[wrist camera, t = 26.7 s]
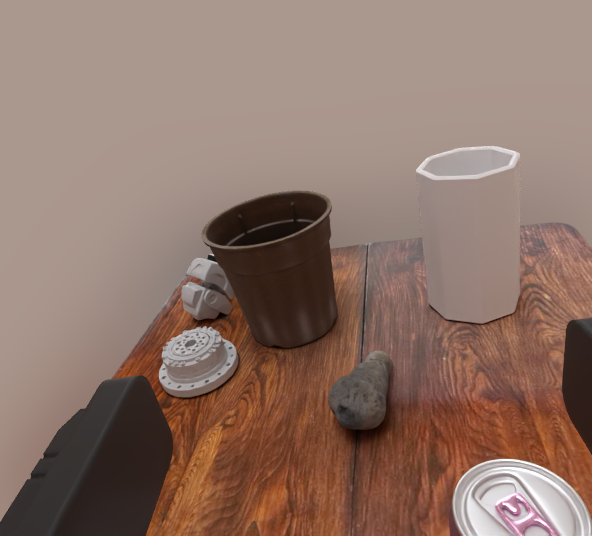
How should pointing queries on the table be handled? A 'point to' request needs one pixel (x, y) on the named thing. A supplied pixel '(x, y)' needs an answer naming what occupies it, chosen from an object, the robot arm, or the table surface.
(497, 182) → the cup
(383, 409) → the stone
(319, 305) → the plant pot
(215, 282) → the grey blocky piece
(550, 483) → the beverage can
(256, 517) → the table surface
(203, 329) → the mechanical component
